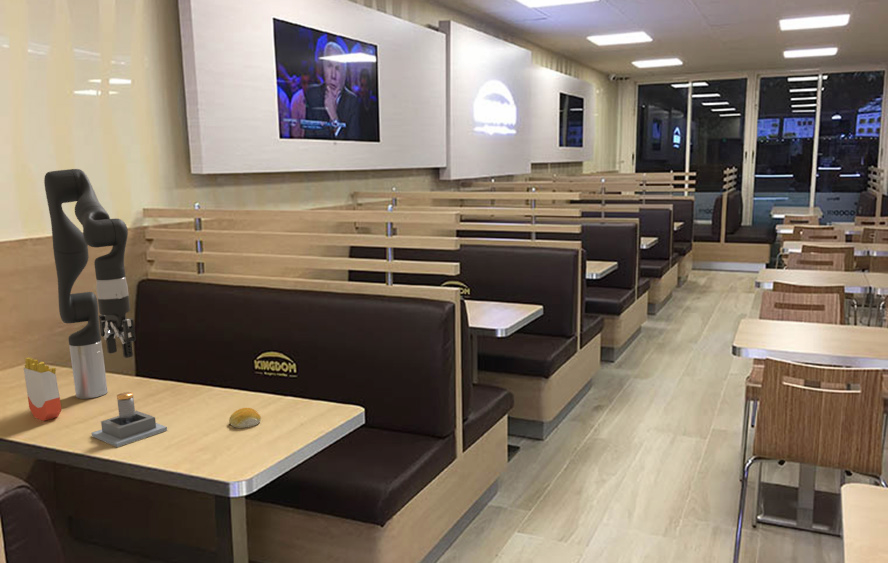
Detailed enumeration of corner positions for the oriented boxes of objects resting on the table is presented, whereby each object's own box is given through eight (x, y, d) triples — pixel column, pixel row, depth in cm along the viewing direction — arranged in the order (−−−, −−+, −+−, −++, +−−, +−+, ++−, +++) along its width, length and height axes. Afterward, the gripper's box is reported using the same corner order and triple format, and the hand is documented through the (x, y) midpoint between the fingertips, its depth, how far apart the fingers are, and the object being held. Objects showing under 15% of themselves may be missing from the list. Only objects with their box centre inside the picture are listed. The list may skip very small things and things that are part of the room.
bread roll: (256, 415, 206) (254, 402, 206) (263, 425, 198) (262, 411, 198) (226, 421, 202) (225, 407, 202) (233, 431, 195) (231, 417, 194)
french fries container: (46, 411, 217) (38, 353, 214) (63, 417, 211) (55, 358, 208) (30, 416, 214) (21, 357, 211) (47, 422, 207) (39, 362, 204)
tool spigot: (118, 430, 195) (113, 395, 194) (132, 426, 198) (128, 391, 197) (125, 433, 193) (121, 397, 191) (139, 428, 196) (135, 393, 194)
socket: (91, 436, 195) (90, 422, 194) (140, 420, 205) (139, 407, 205) (117, 447, 186) (115, 432, 185) (167, 430, 197) (165, 416, 196)
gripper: (86, 295, 191) (93, 354, 194) (112, 300, 182) (119, 362, 185) (113, 290, 197) (120, 348, 200) (140, 295, 188) (147, 355, 191)
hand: (120, 354), depth 192 cm, fingers open, 8 cm apart
